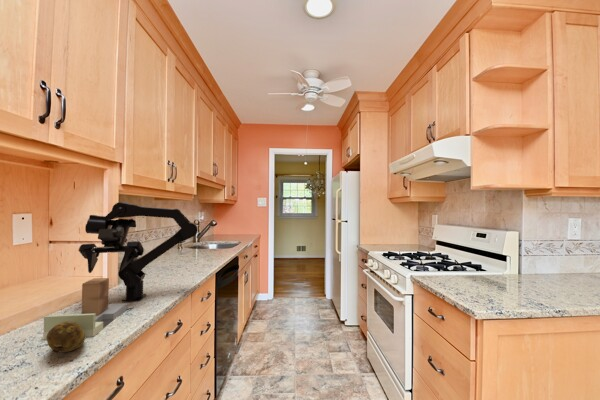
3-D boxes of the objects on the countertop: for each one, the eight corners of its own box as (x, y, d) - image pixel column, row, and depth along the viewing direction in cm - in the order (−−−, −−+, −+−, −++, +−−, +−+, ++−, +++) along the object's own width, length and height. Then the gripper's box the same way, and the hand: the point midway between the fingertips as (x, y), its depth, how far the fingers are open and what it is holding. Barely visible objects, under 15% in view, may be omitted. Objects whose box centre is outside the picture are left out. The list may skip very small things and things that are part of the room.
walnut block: (93, 309, 89) (93, 278, 90) (108, 308, 90) (108, 278, 90) (81, 316, 84) (82, 283, 84) (97, 316, 84) (98, 283, 84)
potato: (98, 336, 76) (98, 307, 76) (74, 363, 63) (75, 327, 63) (61, 340, 73) (62, 310, 73) (29, 368, 61) (30, 332, 61)
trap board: (88, 310, 93) (88, 292, 93) (126, 309, 95) (127, 291, 95) (43, 339, 74) (43, 317, 74) (93, 336, 75) (93, 314, 75)
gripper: (80, 220, 95) (61, 260, 84) (139, 218, 99) (128, 256, 88) (93, 239, 103) (77, 278, 92) (147, 237, 106) (138, 273, 96)
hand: (105, 271), depth 92 cm, fingers open, 9 cm apart
